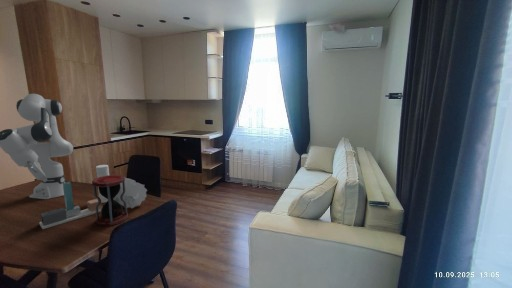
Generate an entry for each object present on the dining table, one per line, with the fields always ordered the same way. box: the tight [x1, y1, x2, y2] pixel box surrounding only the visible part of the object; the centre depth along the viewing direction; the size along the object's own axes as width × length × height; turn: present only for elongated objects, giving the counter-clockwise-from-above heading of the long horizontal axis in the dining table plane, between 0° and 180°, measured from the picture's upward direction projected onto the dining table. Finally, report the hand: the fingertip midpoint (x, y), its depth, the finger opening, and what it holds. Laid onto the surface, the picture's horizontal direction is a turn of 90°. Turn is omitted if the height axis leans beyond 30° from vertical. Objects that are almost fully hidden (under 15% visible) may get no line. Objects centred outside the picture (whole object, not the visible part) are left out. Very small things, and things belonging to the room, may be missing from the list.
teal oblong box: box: [63, 181, 81, 217], centre depth 136 cm, size 16×4×20 cm, turn 141°
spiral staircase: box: [113, 176, 148, 209], centre depth 159 cm, size 18×18×25 cm
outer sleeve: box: [40, 207, 67, 226], centre depth 134 cm, size 10×5×5 cm, turn 141°
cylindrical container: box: [95, 164, 110, 204], centre depth 163 cm, size 7×7×25 cm
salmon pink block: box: [87, 198, 103, 212], centre depth 149 cm, size 6×5×5 cm
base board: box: [39, 208, 101, 230], centre depth 142 cm, size 30×8×1 cm, turn 141°
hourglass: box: [91, 174, 129, 227], centre depth 138 cm, size 16×16×25 cm
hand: (43, 177), depth 130 cm, fingers open, 8 cm apart
